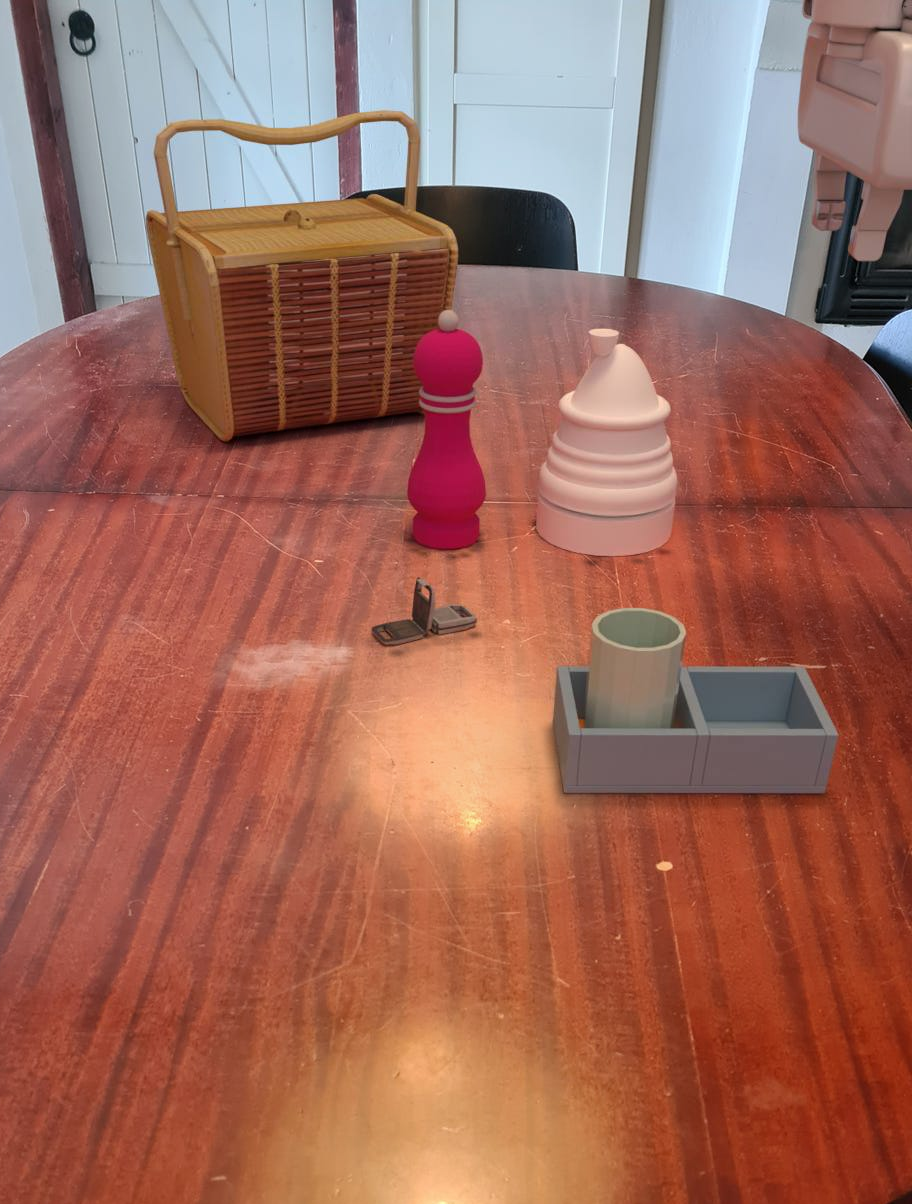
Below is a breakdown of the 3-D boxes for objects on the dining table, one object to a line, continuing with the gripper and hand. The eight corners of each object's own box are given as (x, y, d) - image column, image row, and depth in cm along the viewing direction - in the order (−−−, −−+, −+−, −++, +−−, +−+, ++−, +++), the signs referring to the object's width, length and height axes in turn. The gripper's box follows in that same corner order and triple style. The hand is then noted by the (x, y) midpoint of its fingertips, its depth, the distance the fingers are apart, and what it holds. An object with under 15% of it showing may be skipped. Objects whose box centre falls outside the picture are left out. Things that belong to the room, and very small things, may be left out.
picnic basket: (216, 462, 131) (184, 138, 113) (156, 393, 150) (120, 106, 132) (465, 427, 141) (472, 123, 122) (379, 366, 159) (374, 95, 141)
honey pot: (591, 567, 110) (609, 358, 99) (509, 519, 119) (517, 322, 108) (699, 537, 116) (728, 336, 105) (613, 494, 124) (632, 304, 114)
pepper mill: (476, 519, 119) (481, 298, 107) (491, 549, 113) (499, 319, 101) (402, 524, 118) (399, 301, 106) (414, 554, 112) (413, 322, 100)
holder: (792, 722, 89) (804, 666, 86) (825, 794, 82) (839, 734, 79) (552, 722, 89) (556, 665, 86) (563, 793, 82) (568, 734, 79)
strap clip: (463, 612, 103) (463, 564, 101) (479, 627, 101) (481, 579, 98) (369, 632, 100) (367, 583, 98) (384, 648, 98) (383, 598, 96)
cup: (661, 723, 88) (677, 607, 82) (675, 770, 83) (693, 650, 77) (577, 723, 87) (587, 607, 82) (586, 770, 83) (597, 650, 77)
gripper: (1008, 0, 66) (942, 279, 74) (893, -17, 82) (849, 214, 90) (890, -1, 66) (837, 279, 74) (798, -17, 82) (763, 214, 90)
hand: (843, 243), depth 82 cm, fingers open, 8 cm apart
